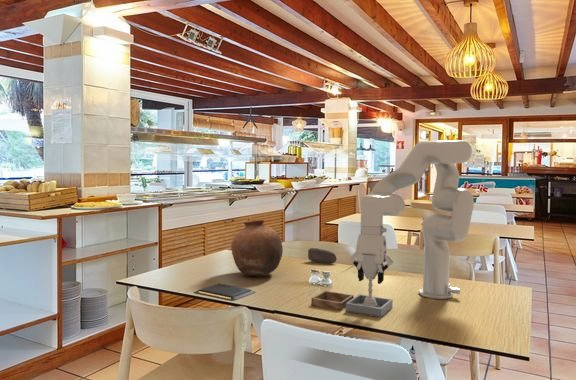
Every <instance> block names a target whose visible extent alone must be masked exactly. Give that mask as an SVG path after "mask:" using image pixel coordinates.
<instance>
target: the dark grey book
mask: <svg viewBox="0 0 576 380" xmlns="http://www.w3.org/2000/svg"><path fill="white" fill-rule="evenodd" d="M192 293H193V294H197V295H201V296H206V297H211V298H214V299H215V298H216V299H221V300H225V301H230V302H234V301H238V300H240V299H242V298H245V297H249V296H251V295H253V294H255V293H256V291H254V290H252V289H249V288H245V287H240V286H235V285H230V284H223V283H216V284H212V285H210V286H207V287H204V288H201V289H198V290H197V291H194V292H192Z"/></svg>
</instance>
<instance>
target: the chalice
mask: <svg viewBox="0 0 576 380" xmlns="http://www.w3.org/2000/svg"><path fill="white" fill-rule="evenodd" d="M362 256H363V262H362V269H363V272H364V277H365V279H367V280H368V284H367V286H368V289H367V292H368V295H367V296H368V297H366V298H365V300H364V302H363V305H365V306H377V303H376V299H375V298H374V297H375V296H373V292H374V291H373V286H374V285H373V280H375V279H376V276H378V272H379V269H378V266H377V264H375V259H374V258H375V257H376V255H364V254H362Z"/></svg>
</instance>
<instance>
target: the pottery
mask: <svg viewBox="0 0 576 380" xmlns="http://www.w3.org/2000/svg"><path fill="white" fill-rule="evenodd" d="M265 220H266V219H264V218H263V219H253V220H249V221H248V220H247V221H243V224H244V225H245V226H244V228H242V229H241V230H240V231H239V232H237V233H236V235H234V237H233V239H232V240H231V245H230V247H231V249H230V250H231V254H232V257H233V260H234V264H235V266H236V267H237V270H238V271H239V272H240V273H242V274H243V275H245V276H254V277H255V276H256V277H257V276H265V275H268V274H271V273H272V272H274V271H275V270H276V269H277V268H278V267H279V265H280V263H281V259H282V257H283V252H284V248H283V243H282V240H281V238H280V237H281V236H280V235H279V234H278V233H277V231H276V230H274V229H273V228H272V227H269V226H268V225H265V224H264V222H265Z"/></svg>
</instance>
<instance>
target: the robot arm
mask: <svg viewBox="0 0 576 380" xmlns="http://www.w3.org/2000/svg"><path fill="white" fill-rule="evenodd" d="M472 154H473V149H472V146H471V144H470V142H468V141H466V140H464V139H462V140H459V139H457V140H455V139H454V140H449V139H448V140H423V141H419V142H417V143H416V144H415V145H414V146H413V147H412V148H411V150H410V152H409V153H408V155H407V156H406V158H405V159H404V160H403V162H402V163H401V165H400V166H399V167H398V168H397V169H395V170H393V171H392V172H390V173H389V174H387V175H386V176H385V177H383V178H382V179H380V180H379V181H378V182H377V183H376V184H375V185H374V187H373V188H372V190H370V192H369V194H364V195H363V196H361V199H360V232H359V233H358V236H357V242H356V246H355V247H356V248H355V249H356V250H355V252H354V253H352V255H350V256H349V257H348V258H349V260H350V261H351V263H352V264H353V265H354V266H355V267H356V270H357V278H358V282H361V281H363V280H364V278H365V274H364V272H363V269H362V262H363V256H362V254H364V255H376V257H375V258H374V259H375V264H377V266H378V269H379V271H378V273H377V284H378V285H381V284H382V283H383V282H384V278H385V277H384V276H385V271H386V270H387V269H388V268H390V266H392V265H393V264H394V260H393V259H391V257H390V256H389V255H388V248H387V239H386V234H384V233H387V228H385V227H384V224H383V223H384V222H383V221H384V216H398V215H400V214H401V213H403V211H404V210H405V206H406V203H405V200H404V198H403V197H402V196H400V195H398V194H394V193H395V192H396V191H399V190H401V189H404V188H407V187H410V186H414V185H415V184H416V183H418V182H420V180H421V178H422V177H423V175H424V174H425V173H426V172H427V169H428V168H429V166H431V165H434V168H435V170H436V176H435V177H436V178H435V183H434V188H433V193H432V199H431V205H432V208H433V209H435V210H437V211H440V212H444V213H445V212H446V213H447V212H448V213H452V214H451V215H448V214H443V213H441V214H440V213H432V214H427V215H426V216H425V217H424V218H423V220H422V223H421V225H422V227H421V228H422V230H421V231H422V235H423V243H424V245H423V249H424V251H423V274H422V275H423V276H422V277H423V280H422V281H423V282H422V288H420V289H418V294H419V295H420V296H422V297H424V298H429V299H436V300H446V299H451V298H452V297H453V294H457V295H460V294H461V289H460V288H458V287H453V286H452V285H451V284H452V283H450V262H451V261H450V260H451V259H450V258H451V257H450V255H451V250H450V246H449V243H448V242H453V243H460V242H463V241H464V240H465V239H466V238H467V236H468V234H469V230H470V226H471V220H472V216H473V211H474V206H475V205H474V204H475V203H474V202H475V201H474V195H473V193H472V192H471V191H470V190H468V189H467V188H462V187H459V181H460V173H459V169H458V167H457V166H456V165H457V164H464V163H466V162H467V161H469V160H470V158H471V157H472ZM385 262H386V264H384V263H385Z"/></svg>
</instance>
